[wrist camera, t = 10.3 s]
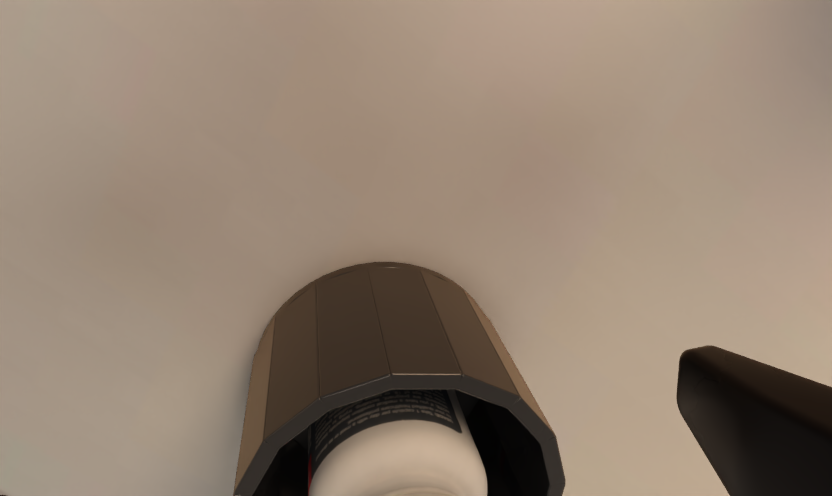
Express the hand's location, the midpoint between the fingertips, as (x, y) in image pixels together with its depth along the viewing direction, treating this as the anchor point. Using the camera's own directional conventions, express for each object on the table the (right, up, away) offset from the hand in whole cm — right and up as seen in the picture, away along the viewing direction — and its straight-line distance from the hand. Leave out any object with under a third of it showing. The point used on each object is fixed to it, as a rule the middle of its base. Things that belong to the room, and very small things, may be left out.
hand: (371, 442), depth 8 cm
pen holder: (-1, -2, +15) cm, 15 cm away
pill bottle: (-1, -2, +15) cm, 15 cm away
